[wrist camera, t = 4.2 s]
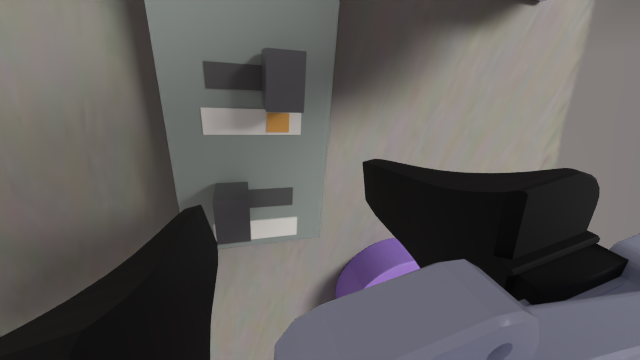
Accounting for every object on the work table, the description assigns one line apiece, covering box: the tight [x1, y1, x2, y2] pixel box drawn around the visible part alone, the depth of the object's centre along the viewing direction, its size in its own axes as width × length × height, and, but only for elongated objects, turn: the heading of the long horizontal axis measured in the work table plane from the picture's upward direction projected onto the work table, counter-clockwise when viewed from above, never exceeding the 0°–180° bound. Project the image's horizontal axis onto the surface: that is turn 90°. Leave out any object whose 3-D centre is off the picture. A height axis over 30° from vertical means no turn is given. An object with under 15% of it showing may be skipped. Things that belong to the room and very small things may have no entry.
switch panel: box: [144, 0, 340, 249], centre depth 16 cm, size 10×24×3 cm, turn 176°
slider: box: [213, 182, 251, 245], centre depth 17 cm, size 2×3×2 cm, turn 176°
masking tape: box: [335, 238, 420, 299], centre depth 28 cm, size 12×12×4 cm
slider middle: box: [261, 48, 307, 113], centre depth 14 cm, size 2×3×2 cm, turn 176°
